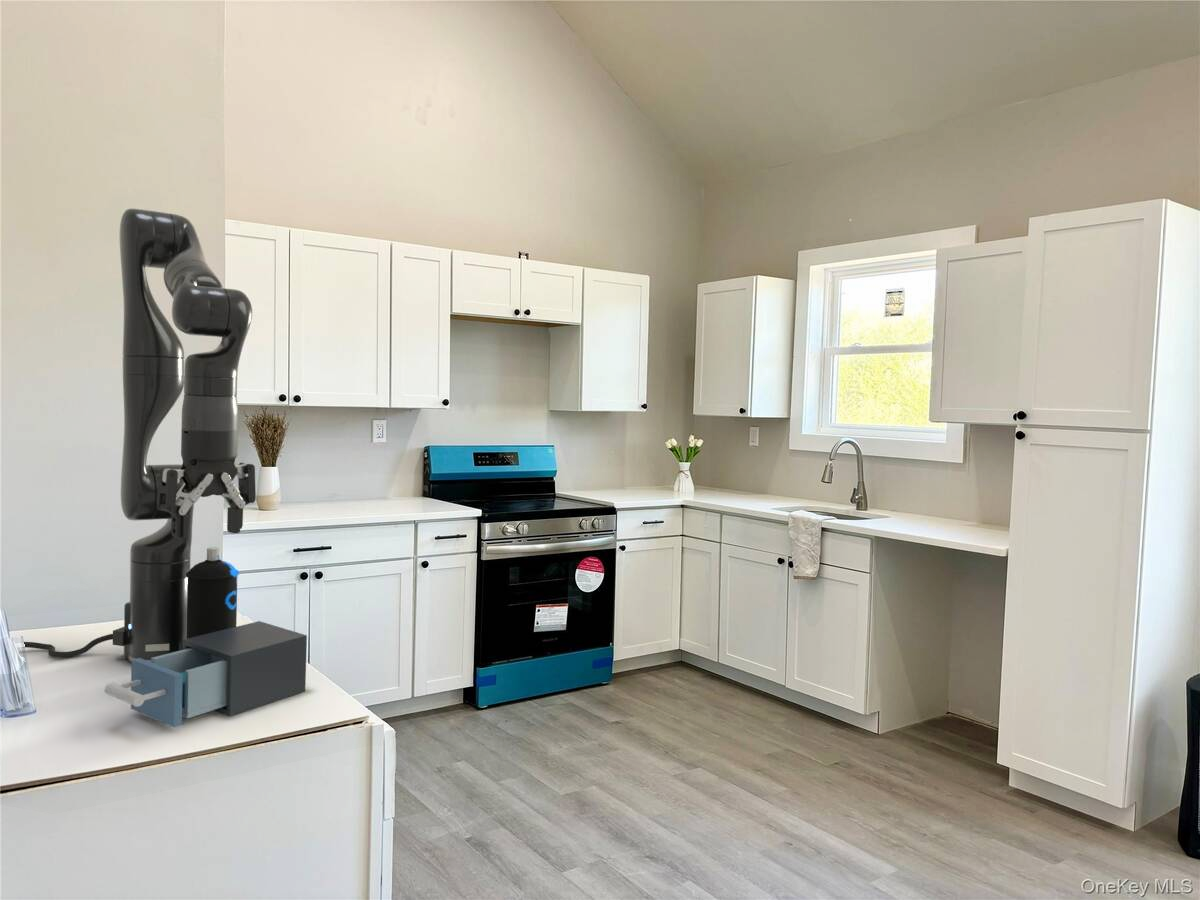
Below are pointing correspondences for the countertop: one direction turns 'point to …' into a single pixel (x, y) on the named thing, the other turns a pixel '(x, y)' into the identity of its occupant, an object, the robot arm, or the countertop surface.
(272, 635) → the dark grey drawer cabinet
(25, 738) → the countertop surface
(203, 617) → the aerosol can
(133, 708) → the blue drawer
